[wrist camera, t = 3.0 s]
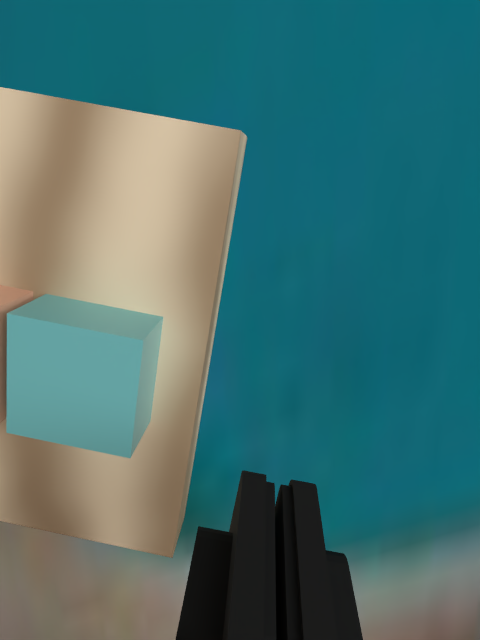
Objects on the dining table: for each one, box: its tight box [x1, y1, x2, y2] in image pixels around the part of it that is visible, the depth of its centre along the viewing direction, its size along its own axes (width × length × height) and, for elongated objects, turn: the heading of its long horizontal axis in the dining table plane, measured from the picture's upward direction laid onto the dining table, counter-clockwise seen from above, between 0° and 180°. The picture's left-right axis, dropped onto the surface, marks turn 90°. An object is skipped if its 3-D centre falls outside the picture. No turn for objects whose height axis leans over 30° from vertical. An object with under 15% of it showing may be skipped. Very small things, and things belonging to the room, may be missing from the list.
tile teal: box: [6, 294, 163, 458], centre depth 16 cm, size 4×4×2 cm
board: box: [0, 87, 247, 558], centre depth 19 cm, size 12×18×2 cm, turn 170°
